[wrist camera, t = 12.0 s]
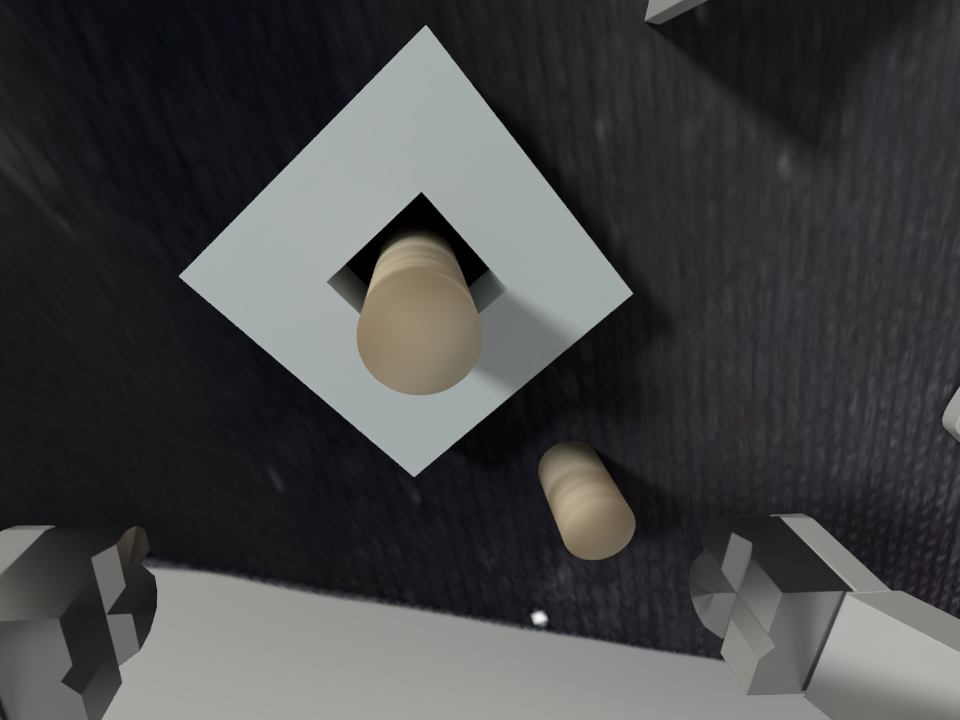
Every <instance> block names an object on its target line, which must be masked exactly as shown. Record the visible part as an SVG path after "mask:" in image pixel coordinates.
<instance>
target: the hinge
mask: <svg viewBox="0 0 960 720" xmlns="http://www.w3.org/2000/svg"><path fill="white" fill-rule="evenodd" d="M705 1H707V0H649V4H648V8H647V13H646V17H645V22H650V23H654V24H659V25H660V24H662V23H664V22H666V21H668V20H670V19H672V18H674V17H676V16H678V15H680V14H682V13H684V12H686V11H688V10H690V9H691V8H693V7H695V6H697V5H699V4H701V3H703V2H705Z"/></svg>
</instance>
